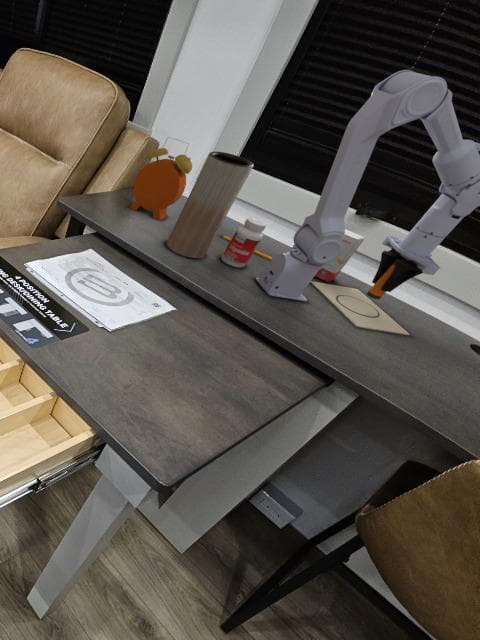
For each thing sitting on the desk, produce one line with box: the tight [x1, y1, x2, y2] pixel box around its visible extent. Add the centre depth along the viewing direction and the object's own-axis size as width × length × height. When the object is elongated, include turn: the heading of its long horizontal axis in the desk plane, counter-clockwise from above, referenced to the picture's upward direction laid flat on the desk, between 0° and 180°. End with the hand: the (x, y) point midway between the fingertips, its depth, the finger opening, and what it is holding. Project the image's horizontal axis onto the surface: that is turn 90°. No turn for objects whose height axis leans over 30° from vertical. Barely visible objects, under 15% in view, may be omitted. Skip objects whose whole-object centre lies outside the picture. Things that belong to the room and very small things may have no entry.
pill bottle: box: [220, 217, 267, 269], centre depth 114 cm, size 6×6×11 cm
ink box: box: [314, 228, 366, 283], centre depth 117 cm, size 9×5×12 cm, turn 33°
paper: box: [310, 280, 411, 336], centre depth 109 cm, size 13×20×1 cm, turn 177°
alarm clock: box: [129, 136, 193, 221], centre depth 130 cm, size 13×6×20 cm, turn 49°
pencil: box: [222, 235, 273, 261], centre depth 126 cm, size 1×18×1 cm, turn 39°
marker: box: [366, 259, 407, 300], centre depth 104 cm, size 3×3×9 cm
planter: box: [166, 150, 254, 259], centre depth 111 cm, size 10×10×23 cm
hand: (381, 287), depth 105 cm, fingers closed on marker, 3 cm apart
